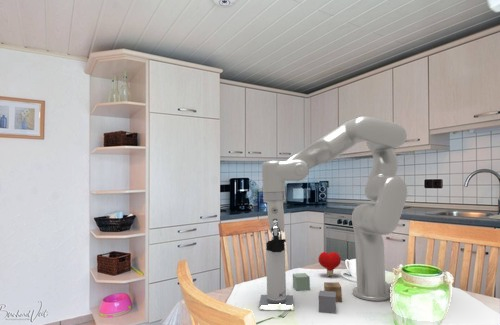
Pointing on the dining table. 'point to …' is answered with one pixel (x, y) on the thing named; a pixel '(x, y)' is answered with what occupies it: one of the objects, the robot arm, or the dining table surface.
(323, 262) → the red heart figurine
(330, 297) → the charcoal block
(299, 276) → the sage green block
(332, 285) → the walnut block
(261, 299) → the coaster mat
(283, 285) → the travel mug
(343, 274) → the dining table surface
